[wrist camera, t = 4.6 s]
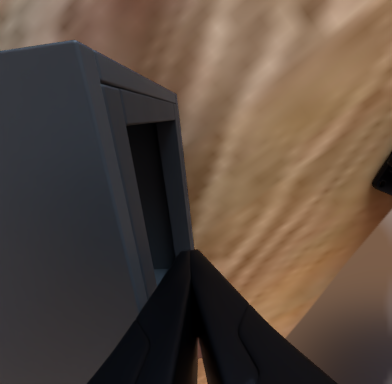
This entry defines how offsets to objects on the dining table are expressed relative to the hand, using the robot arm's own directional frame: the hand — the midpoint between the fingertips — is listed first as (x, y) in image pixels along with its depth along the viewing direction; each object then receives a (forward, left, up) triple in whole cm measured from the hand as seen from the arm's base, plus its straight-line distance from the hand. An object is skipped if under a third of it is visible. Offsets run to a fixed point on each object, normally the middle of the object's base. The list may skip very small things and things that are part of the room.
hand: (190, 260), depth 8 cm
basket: (+3, +2, -8) cm, 9 cm away
